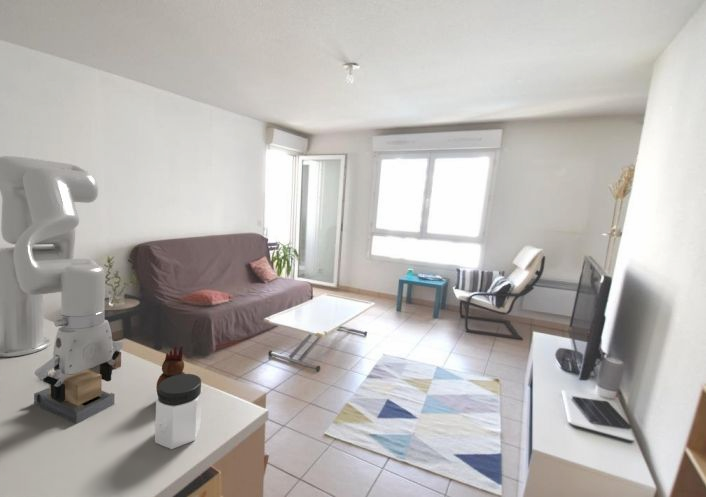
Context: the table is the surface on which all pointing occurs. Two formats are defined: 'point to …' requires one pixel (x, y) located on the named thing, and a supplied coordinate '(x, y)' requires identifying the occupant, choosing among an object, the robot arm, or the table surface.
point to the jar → (178, 410)
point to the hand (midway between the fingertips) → (83, 389)
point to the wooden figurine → (171, 365)
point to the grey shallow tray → (72, 410)
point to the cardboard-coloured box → (81, 386)
